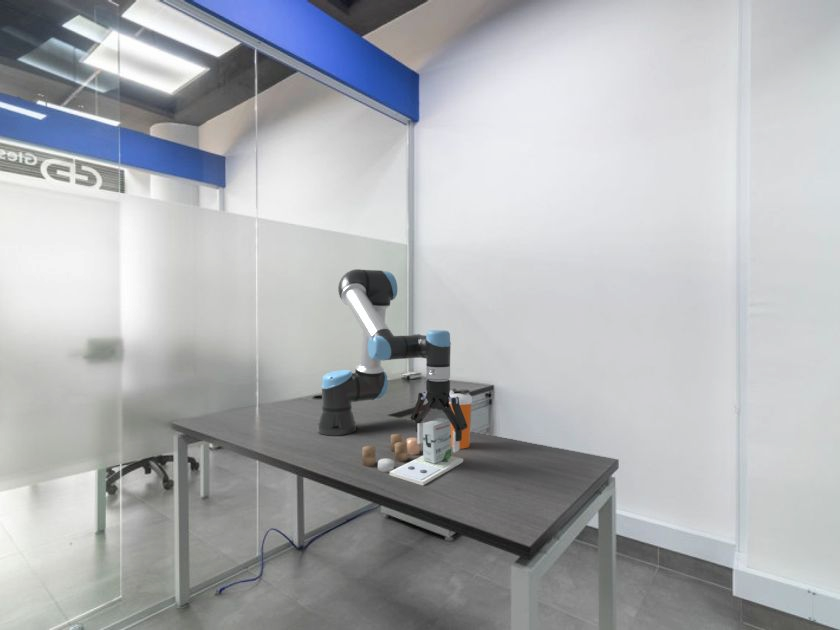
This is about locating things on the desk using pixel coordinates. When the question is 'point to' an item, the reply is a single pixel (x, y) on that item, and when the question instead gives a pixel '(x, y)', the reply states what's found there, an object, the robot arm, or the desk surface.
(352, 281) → the robot arm
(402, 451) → the brown rounded capsule
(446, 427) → the ink box
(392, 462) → the light gray rounded ball
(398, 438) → the brown rounded capsule
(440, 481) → the desk surface
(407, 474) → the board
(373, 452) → the tan rounded capsule
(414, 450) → the peach rounded capsule
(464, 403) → the shaker bottle
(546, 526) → the desk surface
